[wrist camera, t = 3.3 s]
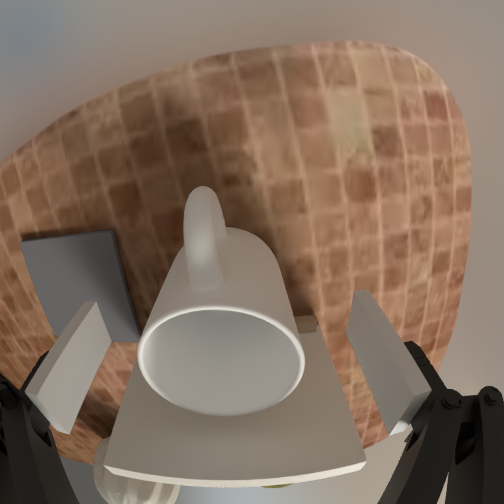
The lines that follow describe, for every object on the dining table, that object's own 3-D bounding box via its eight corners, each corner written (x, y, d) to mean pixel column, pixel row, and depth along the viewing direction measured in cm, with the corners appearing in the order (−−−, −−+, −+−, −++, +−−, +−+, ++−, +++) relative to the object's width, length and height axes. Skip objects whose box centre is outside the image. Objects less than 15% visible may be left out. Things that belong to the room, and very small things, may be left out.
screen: (153, 353, 25) (120, 479, 12) (143, 322, 24) (94, 457, 11) (315, 346, 26) (355, 475, 13) (319, 314, 24) (373, 453, 11)
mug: (154, 182, 19) (84, 230, 9) (270, 166, 19) (303, 200, 9) (186, 319, 24) (166, 417, 14) (281, 310, 24) (303, 409, 14)
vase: (198, 447, 34) (193, 522, 22) (163, 466, 38) (157, 524, 26) (113, 412, 30) (91, 492, 18) (95, 438, 34) (78, 497, 22)
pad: (58, 333, 24) (55, 336, 23) (23, 240, 20) (19, 242, 19) (143, 338, 24) (142, 342, 24) (113, 229, 20) (110, 232, 19)
